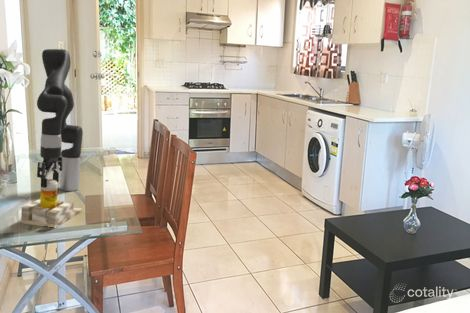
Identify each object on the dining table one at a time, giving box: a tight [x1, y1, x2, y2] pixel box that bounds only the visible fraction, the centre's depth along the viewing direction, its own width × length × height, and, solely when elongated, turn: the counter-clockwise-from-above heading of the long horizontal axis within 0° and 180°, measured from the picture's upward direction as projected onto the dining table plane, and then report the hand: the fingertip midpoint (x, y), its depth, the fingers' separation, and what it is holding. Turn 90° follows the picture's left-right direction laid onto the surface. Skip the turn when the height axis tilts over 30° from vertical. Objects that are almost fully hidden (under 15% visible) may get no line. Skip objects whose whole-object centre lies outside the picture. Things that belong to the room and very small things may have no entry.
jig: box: [20, 198, 83, 228], centre depth 169 cm, size 22×14×6 cm, turn 174°
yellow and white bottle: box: [39, 178, 59, 211], centre depth 164 cm, size 6×6×15 cm
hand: (49, 184), depth 163 cm, fingers open, 8 cm apart
